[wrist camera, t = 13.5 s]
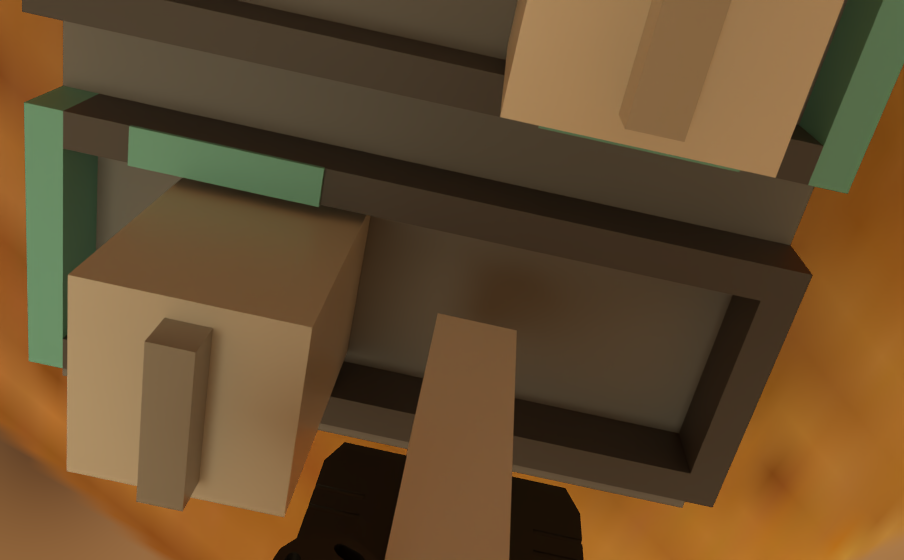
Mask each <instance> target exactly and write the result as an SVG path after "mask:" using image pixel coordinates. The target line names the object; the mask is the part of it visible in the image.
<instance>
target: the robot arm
mask: <svg viewBox="0 0 904 560" xmlns="http://www.w3.org/2000/svg"><path fill="white" fill-rule="evenodd" d="M516 338H517V331H516V330H512V329H507V328H503V327H498V326H494V325H489V324H485V323H480V322H476V321H471V320H467V319H462V318H458V317H453V316H448V315H444V314H439V313H438V315H437V319H436V324H435V328H434V333H433V337H432V342H431V346H430V351H429V355H428V360H427V364H426V369H425V373H424V378H423V382H422V387H421V391H420V396H419V400H418V405H417V409H416V413H415V418H414V422H413V427H412V431H411V436H410V441H409V445H408V450H407V455H406V456H405V455H401V454H396V453H392V452H387V451H383V450H378V449H373V448H369V447H364V446H360V445H355V444H351V443H346V442H345V443H343V444H342V445H341V446H340V447H339V448H338V449H337V450H335V451H334V452H333V453H332V454H331V455H330V456H329V457H327V458H326V459H325V460H324V463H323V466H322V469H321V471H320V474H319V477H318V480H317V483H316V487H315V489H314V491H313V494H312V497H311V500H310V502H309V506H308V508H307V511H306V514H305V517H304V519H303V522H302V525H301V528H300V531H299V534H298V536H297V538H296V539H295V540H293V541H291V542H290V543H288V544H287V545H285V546H284V547H282V548H280V550H279V551H278V553H277V554H276V556H275V557H274V559H273V560H583V548H582V544H581V541H582V534H581V521H580V513H579V511H578V509H577V508H576V506H575V504H574V502H573V501H572V499H571V497H570V495H569V494H568V492H567V490H566V489H565V488H562V487H557V486H553V485H548V484H544V483H539V482H534V481H530V480H525V479H521V478H516V477H512V459H513V429H514V398H515V368H516Z"/></svg>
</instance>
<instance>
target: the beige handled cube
mask: <svg viewBox="0 0 904 560" xmlns="http://www.w3.org/2000/svg"><path fill="white" fill-rule="evenodd" d="M369 221H370V216H369V215H365V214H360V213H356V212H351V211H347V210H342V209H337V208H333V207H328V206H324V205H320V206H319V207H315V206H311V205H306V204H302V203H297V202H292V201H288V200H283V199H279V198H274V197H270V196H265V195H260V194H256V193H251V192H247V191H242V190H237V189H233V188H228V187H224V186H219V185H215V184H210V183H205V182H201V181H196V180H192V179H187V178H182V179H180V180H179V181H178V182H177V183H176V184H174V185H173V186H172V187H171V188H170V189H169V190H167V191H166V192H165V193H164V194H163V195H161V196H160V197H159V198H158V199H157V200H156V201H154V202H153V203H152V204H151V205H150V206H149V207H147V208H146V209H145V210H144V211H143V212H141V213H140V214H139V215H138V216H137V217H136V218H134V219H133V220H132V221H131V222H130V223H128V224H127V225H126V226H125V227H124V228H123V229H121V230H120V231H119V232H118V233H117V234H115V235H114V236H113V237H112V238H111V239H110V240H108V241H107V242H106V243H105V244H104V245H102V246H101V247H100V248H99V249H98V250H97V251H95V252H94V253H93V254H92V255H91V256H89V257H88V258H87V259H86V260H85V261H84V262H82V263H81V264H80V265H79V266H78V267H76V268H75V269H74V270H73V271H72V272H71V273H69V274H68V328H67V471H69V472H74V473H78V474H83V475H88V476H93V477H97V478H102V479H107V480H111V481H116V482H121V483H126V484H130V485H135V486H137V500H136V502H141V503H145V504H150V505H155V506H160V507H164V508H169V509H174V510H178V511H183V510H184V508H185V506H186V504H187V502H188V501H189V499H190V497H192V498H196V499H201V500H206V501H210V502H215V503H220V504H225V505H229V506H234V507H239V508H243V509H248V510H253V511H257V512H262V513H267V514H272V515H276V516H281V517H284V516H285V514H286V511H287V508H288V506H289V503H290V500H291V498H292V495H293V493H294V490H295V487H296V485H297V482H298V479H299V477H300V474H301V472H302V469H303V466H304V464H305V461H306V458H307V456H308V453H309V451H310V448H311V445H312V443H313V440H314V437H315V435H316V432H317V430H318V427H319V424H320V422H321V419H322V417H323V414H324V411H325V409H326V406H327V403H328V401H329V398H330V396H331V393H332V390H333V388H334V385H335V382H336V380H337V377H338V375H339V372H340V369H341V367H342V364H343V361H344V359H345V356H346V354H347V349H348V343H349V338H350V332H351V326H352V320H353V314H354V308H355V303H356V297H357V291H358V285H359V279H360V274H361V268H362V262H363V256H364V250H365V244H366V239H367V233H368V227H369Z"/></svg>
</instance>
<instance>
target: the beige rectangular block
mask: <svg viewBox="0 0 904 560" xmlns="http://www.w3.org/2000/svg"><path fill="white" fill-rule="evenodd" d="M843 3H844V0H518V1H517V6H516V10H515V15H514V19H513V24H512V28H511V32H510V37H509V41H508V46H507V55H506V65H505V75H504V85H503V94H502V104H501V114H500V117H502V118H507V119H511V120H516V121H520V122H525V123H529V124H534V125H538V126H543V127H547V128H552V129H556V130H561V131H566V132H570V133H575V134H579V135H584V136H588V137H593V138H597V139H602V140H606V141H611V142H615V143H620V144H624V145H629V146H633V147H638V148H643V149H647V150H652V151H656V152H661V153H665V154H670V155H674V156H679V157H683V158H688V159H692V160H697V161H701V162H706V163H711V164H715V165H720V166H724V167H729V168H733V169H738V170H742V171H747V172H751V173H756V174H760V175H765V176H769V177H774V178H776V175H777V173H778V170H779V168H780V165H781V162H782V160H783V157H784V155H785V152H786V150H787V147H788V144H789V142H790V139H791V137H792V134H793V131H794V129H795V126H796V124H797V121H798V119H799V116H800V113H801V111H802V108H803V106H804V103H805V101H806V98H807V95H808V93H809V90H810V88H811V85H812V82H813V80H814V77H815V75H816V72H817V70H818V67H819V64H820V62H821V59H822V57H823V54H824V52H825V49H826V46H827V44H828V41H829V39H830V36H831V34H832V31H833V28H834V26H835V23H836V21H837V18H838V15H839V13H840V10H841V8H842V5H843Z"/></svg>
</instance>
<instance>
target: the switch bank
mask: <svg viewBox="0 0 904 560" xmlns="http://www.w3.org/2000/svg"><path fill="white" fill-rule="evenodd" d="M517 1H518V0H22V12H26V13H31V14H35V15H40V16H44V17H49V18H53V19H58V20H62V21H63V86H61V87H59V88H57V89H54V90H52V91H50V92H47V93H45V94H43V95H40V96H38V97H36V98H33V99H31V100H29V101H26V102H24V129H25V182H26V236H27V289H28V343H29V361H31V362H36V363H41V364H45V365H50V366H55V367H59V368H63V375H64V376H67V328H68V274H69V273H71V272H72V271H73V270H74V269H75V268H76V267H78V266H79V265H80V264H81V263H82V262H84V261H85V260H86V259H87V258H88V257H89V256H91V255H92V254H93V253H94V252H95V251H97V250H98V249H99V248H100V247H101V246H102V245H104V244H105V243H106V242H107V241H108V240H110V239H111V238H112V237H113V236H114V235H115V234H117V233H118V232H119V231H120V230H121V229H123V228H124V227H125V226H126V225H127V224H128V223H130V222H131V221H132V220H133V219H134V218H136V217H137V216H138V215H139V214H140V213H141V212H143V211H144V210H145V209H146V208H147V207H149V206H150V205H151V204H152V203H153V202H154V201H156V200H157V199H158V198H159V197H160V196H161V195H163V194H164V193H165V192H166V191H167V190H169V189H170V188H171V187H172V186H173V185H174V184H176V183H177V182H178V181H179V180H180V179H182V178H187V179H192V180H196V181H201V182H205V183H210V184H215V185H219V186H224V187H228V188H233V189H237V190H242V191H247V192H251V193H256V194H260V195H265V196H270V197H274V198H279V199H283V200H288V201H292V202H297V203H302V204H306V205H311V206H315V207H319V206H320V205H324V206H328V207H333V208H337V209H342V210H347V211H351V212H356V213H360V214H365V215H369V216H370V221H369V227H368V233H367V239H366V244H365V250H364V256H363V262H362V268H361V274H360V279H359V285H358V291H357V297H356V303H355V308H354V314H353V320H352V326H351V332H350V338H349V343H348V349H347V354H346V356H345V359H344V361H343V364H342V367H341V369H340V372H339V375H338V377H337V380H336V382H335V385H334V388H333V390H332V393H331V396H330V398H329V401H328V403H327V406H326V409H325V411H324V414H323V417H322V419H321V422H320V424H319V427H318V430H321V431H326V432H330V433H335V434H340V435H344V436H349V437H354V438H358V439H363V440H368V441H372V442H377V443H382V444H387V445H391V446H396V447H401V448H405V449H408V445H409V441H410V436H411V431H412V427H413V422H414V418H415V413H416V409H417V405H418V400H419V396H420V391H421V387H422V382H423V378H424V373H425V369H426V364H427V360H428V355H429V351H430V346H431V342H432V337H433V333H434V328H435V324H436V319H437V315H438V313H439V314H444V315H448V316H453V317H458V318H462V319H467V320H471V321H476V322H480V323H485V324H489V325H494V326H498V327H503V328H507V329H512V330H516V331H517V338H516V368H515V398H514V429H513V459H512V471H513V472H517V473H522V474H527V475H531V476H536V477H541V478H545V479H550V480H555V481H559V482H564V483H569V484H573V485H578V486H583V487H587V488H592V489H597V490H601V491H606V492H611V493H615V494H620V495H625V496H629V497H634V498H639V499H643V500H648V501H653V502H657V503H662V504H667V505H671V506H676V507H681V508H682V507H683V505H684V502H690V503H694V504H699V505H704V506H708V507H713V505H714V503H715V500H716V498H717V496H718V493H719V491H720V489H721V487H722V484H723V482H724V480H725V477H726V475H727V473H728V470H729V468H730V466H731V463H732V461H733V459H734V456H735V454H736V452H737V449H738V447H739V445H740V442H741V440H742V438H743V435H744V433H745V431H746V428H747V426H748V424H749V422H750V419H751V417H752V415H753V412H754V410H755V408H756V405H757V403H758V401H759V398H760V396H761V394H762V391H763V389H764V387H765V384H766V382H767V380H768V377H769V375H770V373H771V370H772V368H773V366H774V363H775V361H776V359H777V357H778V354H779V352H780V350H781V347H782V345H783V343H784V340H785V338H786V336H787V333H788V331H789V329H790V326H791V324H792V322H793V319H794V317H795V315H796V312H797V310H798V308H799V305H800V303H801V301H802V298H803V296H804V294H805V292H806V289H807V287H808V285H809V282H810V280H811V278H812V274H811V272H810V271H809V270H808V268H807V267H806V266H805V264H804V263H803V262H802V260H801V259H800V258H799V256H798V255H797V254H796V252H795V251H794V250H793V248H792V247H791V246H790V245H791V242H792V240H793V237H794V235H795V232H796V230H797V228H798V225H799V223H800V220H801V218H802V215H803V213H804V210H805V208H806V206H807V203H808V201H809V198H810V196H811V193H812V191H813V189H814V186H815V187H819V188H824V189H828V190H833V191H837V192H842V193H846V194H848V192H849V189H850V187H851V185H852V182H853V180H854V178H855V175H856V173H857V171H858V169H859V166H860V164H861V162H862V159H863V157H864V155H865V152H866V150H867V148H868V145H869V143H870V141H871V138H872V136H873V134H874V131H875V129H876V127H877V124H878V122H879V120H880V117H881V115H882V113H883V110H884V108H885V106H886V104H887V101H888V99H889V97H890V94H891V92H892V90H893V87H894V85H895V83H896V80H897V78H898V76H899V73H900V71H901V69H902V66H903V64H904V0H844V3H843V5H842V8H841V10H840V13H839V15H838V18H837V21H836V23H835V26H834V28H833V31H832V34H831V36H830V39H829V41H828V44H827V46H826V49H825V52H824V54H823V57H822V59H821V62H820V64H819V67H818V70H817V72H816V75H815V77H814V80H813V82H812V85H811V88H810V90H809V93H808V95H807V98H806V101H805V103H804V106H803V108H802V111H801V113H800V116H799V119H798V121H797V124H796V126H795V129H794V131H793V134H792V137H791V139H790V142H789V144H788V147H787V150H786V152H785V155H784V157H783V160H782V162H781V165H780V168H779V170H778V173H777V175H776V178H774V177H769V176H765V175H760V174H756V173H751V172H747V171H742V170H738V169H733V168H729V167H724V166H720V165H715V164H711V163H706V162H701V161H697V160H692V159H688V158H683V157H679V156H674V155H670V154H665V153H661V152H656V151H652V150H647V149H643V148H638V147H633V146H629V145H624V144H620V143H615V142H611V141H606V140H602V139H597V138H593V137H588V136H584V135H579V134H575V133H570V132H566V131H561V130H556V129H552V128H547V127H543V126H538V125H534V124H529V123H525V122H520V121H516V120H511V119H507V118H502V117H500V114H501V104H502V94H503V85H504V75H505V65H506V55H507V46H508V41H509V37H510V32H511V28H512V24H513V19H514V15H515V10H516V6H517Z"/></svg>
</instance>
